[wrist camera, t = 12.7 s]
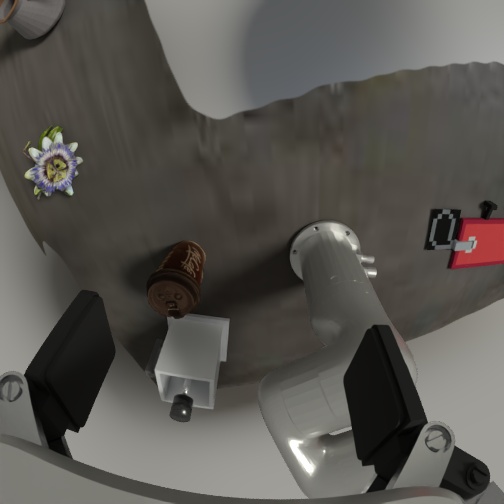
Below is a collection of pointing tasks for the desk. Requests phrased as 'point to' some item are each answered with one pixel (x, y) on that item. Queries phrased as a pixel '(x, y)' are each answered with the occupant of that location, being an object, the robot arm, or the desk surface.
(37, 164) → the passion flower
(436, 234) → the red board with handle
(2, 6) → the coffee pot
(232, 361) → the desk surface
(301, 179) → the desk surface
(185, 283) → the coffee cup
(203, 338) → the press housing
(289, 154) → the desk surface
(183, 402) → the plunger
